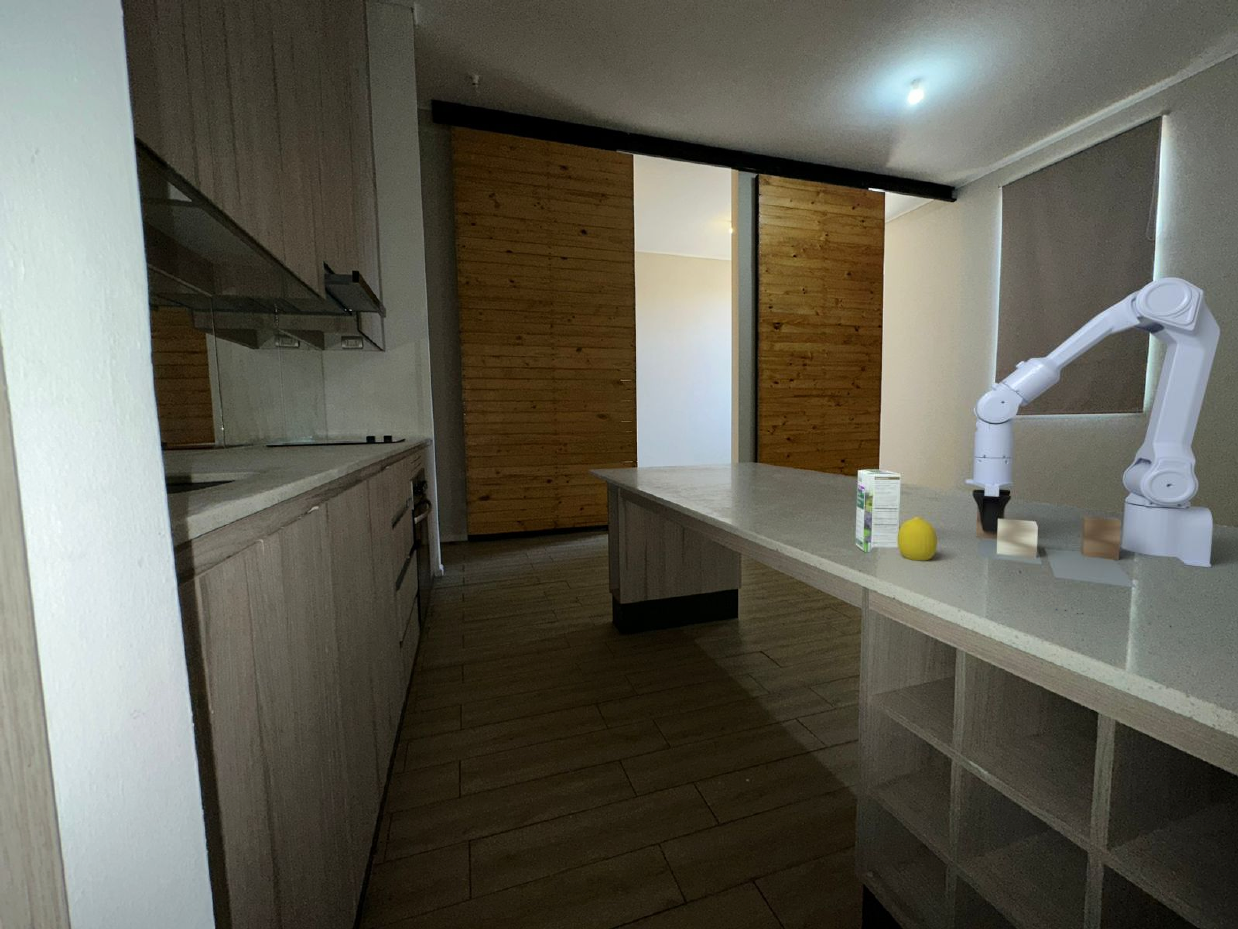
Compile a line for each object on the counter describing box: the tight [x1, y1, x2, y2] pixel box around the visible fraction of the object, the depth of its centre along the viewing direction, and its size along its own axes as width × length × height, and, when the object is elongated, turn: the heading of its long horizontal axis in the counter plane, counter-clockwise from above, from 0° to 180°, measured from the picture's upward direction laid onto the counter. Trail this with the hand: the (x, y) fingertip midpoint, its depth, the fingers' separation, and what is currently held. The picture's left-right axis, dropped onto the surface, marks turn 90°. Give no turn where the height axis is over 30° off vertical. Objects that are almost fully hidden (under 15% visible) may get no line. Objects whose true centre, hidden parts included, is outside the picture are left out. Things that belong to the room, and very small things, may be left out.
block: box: [997, 518, 1039, 558], centre depth 82 cm, size 5×5×5 cm
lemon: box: [897, 516, 938, 562], centre depth 80 cm, size 6×6×8 cm
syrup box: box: [855, 468, 902, 553], centre depth 90 cm, size 6×6×14 cm
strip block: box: [975, 505, 1043, 565], centre depth 85 cm, size 8×18×7 cm, turn 143°
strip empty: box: [1044, 515, 1137, 588], centre depth 74 cm, size 8×18×7 cm, turn 143°
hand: (989, 529), depth 93 cm, fingers closed on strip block, 3 cm apart
